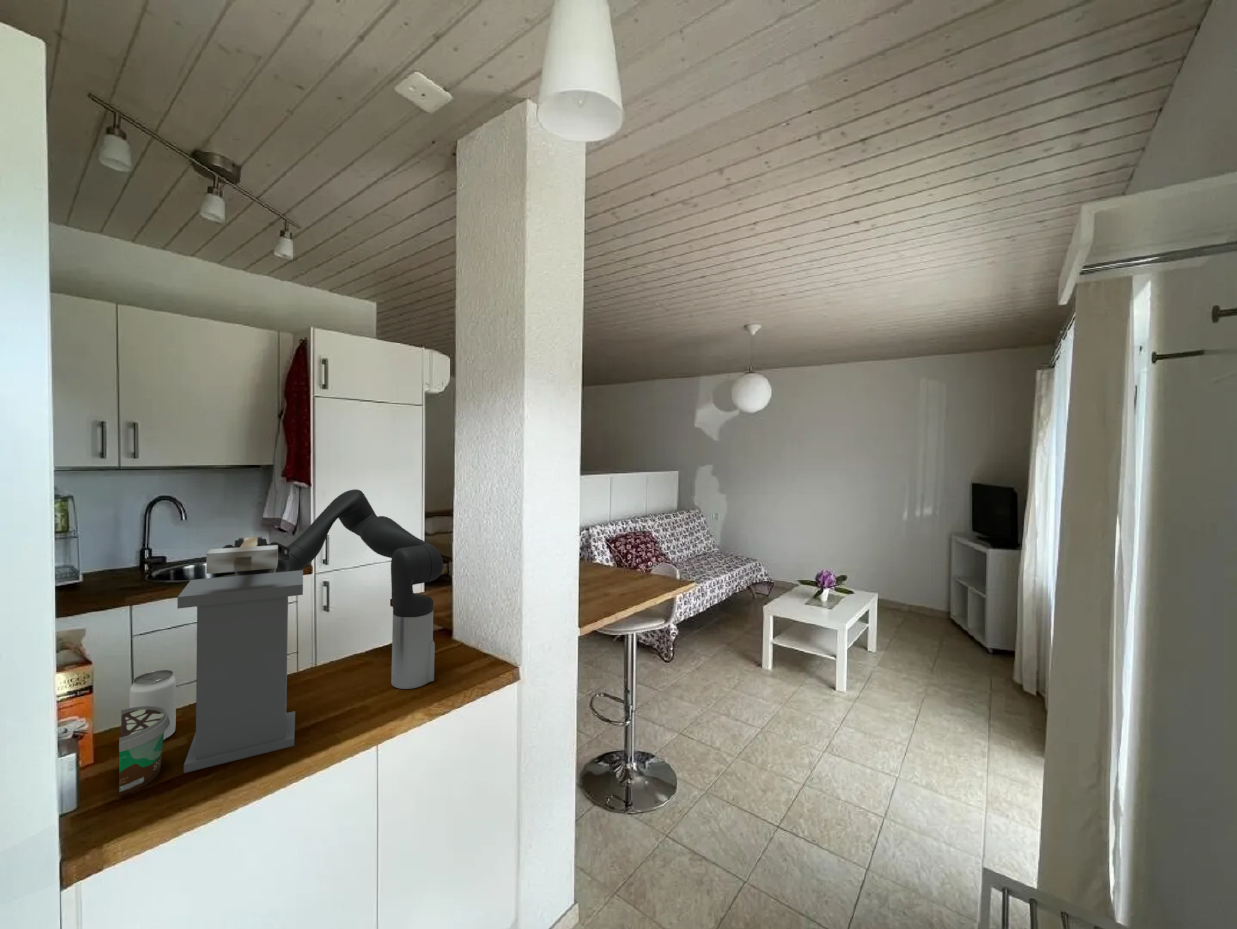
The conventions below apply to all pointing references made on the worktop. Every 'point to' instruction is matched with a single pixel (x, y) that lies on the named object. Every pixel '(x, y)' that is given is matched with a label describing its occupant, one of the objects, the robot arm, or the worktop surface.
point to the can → (156, 694)
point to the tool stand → (241, 666)
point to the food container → (140, 746)
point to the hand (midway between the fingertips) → (249, 541)
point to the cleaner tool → (242, 557)
